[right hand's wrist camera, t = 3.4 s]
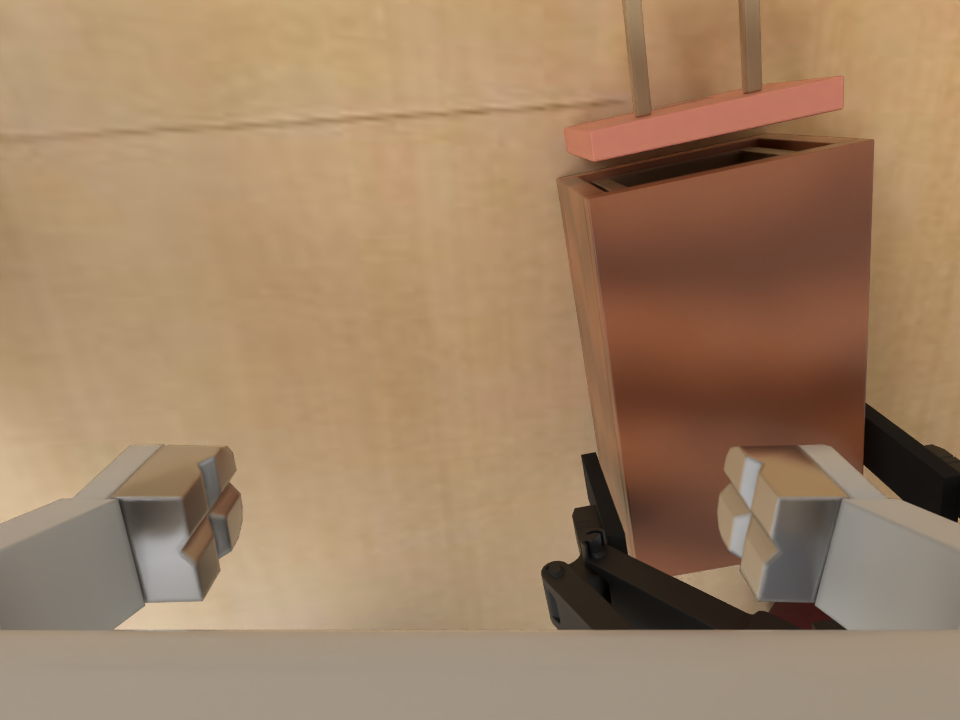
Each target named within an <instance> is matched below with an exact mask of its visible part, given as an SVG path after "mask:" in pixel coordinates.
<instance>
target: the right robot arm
mask: <svg viewBox="0 0 960 720" xmlns="http://www.w3.org/2000/svg"><path fill="white" fill-rule="evenodd" d="M235 472H236V465H235V460H234V455H233V452H232V451H231V450H230V449H229V448H228V446H197V445H164V444H155V445H134V446H129V447H128V448H127V449H126V450H125V451H124V452H122V453H121V454H120V455H119V456H118V457H117V458H116V459H115V460H114V461H113V462H112V463H110V464H109V465H108V466H107V467H106V468H105V469H104V470H103V471H102V472H101V473H100V474H98V475H97V476H96V477H95V478H94V479H93V480H92V481H91V482H90V483H89V484H88V485H86V486H85V487H84V488H83V489H82V490H81V491H80V492H79V493H78V494H77V495H76V496H74V497H73V498H72V499H60V500H57V501H55V502H53V503H50V504H48V505H45V506H43V507H40V508H38V509H35V510H33V511H31V512H28V513H26V514H23V515H21V516H18V517H16V518H13V519H11V520H9V521H6V522H4V523H1V524H0V720H960V524H959V523H956V522H954V521H951V520H949V519H946V518H944V517H942V516H939V515H937V514H934V513H932V512H929V511H927V510H925V509H922V508H920V507H917V506H915V505H912V504H910V503H907V502H905V501H903V500H900V499H888V498H887V497H886V496H884V495H883V494H882V493H881V492H880V491H879V490H878V489H877V488H876V487H875V486H874V485H873V484H871V483H870V482H869V481H868V480H867V479H866V478H865V477H864V476H863V475H862V474H861V473H860V472H858V471H857V470H856V469H855V468H854V467H853V466H852V465H851V464H850V463H849V462H848V461H846V460H845V459H844V458H843V457H842V456H841V455H840V454H839V453H838V452H837V451H836V450H835V449H833V448H832V447H831V446H828V445H824V444H815V445H773V446H737V447H730V449H729V451H728V453H727V455H726V459H725V464H724V472H725V473H726V475H727V477H728V478H729V480H730V481H731V482H730V483H729V484H728V485H727V486H726V487H725V488H724V490H723V491H722V492H721V493H720V494H719V501H718V509H717V515H718V526H719V531H720V534H721V537H722V540H723V542H724V544H725V546H726V548H727V549H728V551H729V552H731V553H732V554H734V555H736V556H737V557H739V558H740V559H742V560H741V565H740V572H741V574H742V575H743V577H744V579H745V581H746V582H747V584H748V586H749V587H750V589H751V591H752V592H753V594H754V596H755V598H756V599H757V601H768V602H805V603H815V606H816V607H818V608H819V609H820V610H822V611H823V612H824V613H826V614H827V615H828V616H830V617H831V618H832V619H834V620H835V621H836V622H838V623H839V624H840V625H842V626H843V627H844V628H846V629H847V630H113V629H114V628H116V627H117V626H118V625H120V624H121V623H122V622H124V621H125V620H126V619H128V618H129V617H130V616H132V615H133V614H134V613H136V612H137V611H138V610H140V609H141V608H142V607H144V606H145V603H155V602H190V601H203V599H204V598H205V596H206V594H207V593H208V591H209V589H210V587H211V586H212V584H213V582H214V581H215V579H216V577H217V575H218V574H219V572H220V565H219V559H220V558H221V557H223V556H224V555H226V554H228V553H229V552H231V551H232V549H233V547H234V546H235V544H236V542H237V540H238V538H239V534H240V529H241V525H242V515H243V506H242V500H241V494H240V493H239V492H238V491H237V490H236V488H235V487H234V486H233V485H232V484H231V483H230V482H229V481H230V480H231V478H232V477H233V475H234V473H235Z"/></svg>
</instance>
